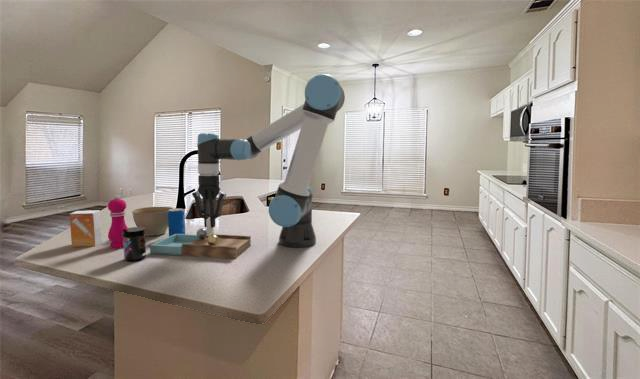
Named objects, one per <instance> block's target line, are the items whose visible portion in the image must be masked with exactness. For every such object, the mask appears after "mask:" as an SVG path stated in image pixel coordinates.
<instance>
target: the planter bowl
mask: <svg viewBox="0 0 640 379" xmlns="http://www.w3.org/2000/svg"><path fill="white" fill-rule="evenodd" d="M169 209H174V208H173V207H171V206H149V207H140V208H136V209H133V210H131V213H132V216H133V217H132V219H133V222H134V223H135V226H136V227H144V228H145V237H147V236H148V237H151V236H154V237H155V236H160V235H164V234H166V233H167V229H169V227H168V212H169Z"/></svg>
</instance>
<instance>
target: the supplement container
mask: <svg viewBox="0 0 640 379" xmlns="http://www.w3.org/2000/svg"><path fill="white" fill-rule="evenodd" d="M122 235H123V248H122V249H123V260H124V261H125V262H129V263H132V262H139V261H143V260H144V259H146V258H147V247H146V246H147V245H146V244H147V243H146V242H147V241H146V236H145V228H144V227H137V226H136V227H135V226H134V227H133V226H132V227H128V228H126V229H123V230H122Z"/></svg>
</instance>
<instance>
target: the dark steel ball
mask: <svg viewBox="0 0 640 379" xmlns="http://www.w3.org/2000/svg"><path fill="white" fill-rule="evenodd" d="M196 235H197V237H198V238H200V239H204V238H205V237H206V236H207V228H201V227H200V228H199V229H198V230H197V231H196Z"/></svg>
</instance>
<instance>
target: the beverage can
mask: <svg viewBox="0 0 640 379" xmlns="http://www.w3.org/2000/svg"><path fill="white" fill-rule="evenodd" d="M185 219H186V216H185V211H184V208H182V207H181V208H179V207H178V208H173V209H169V212H168V237H169V236H172V235H174V234H186V220H185Z"/></svg>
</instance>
